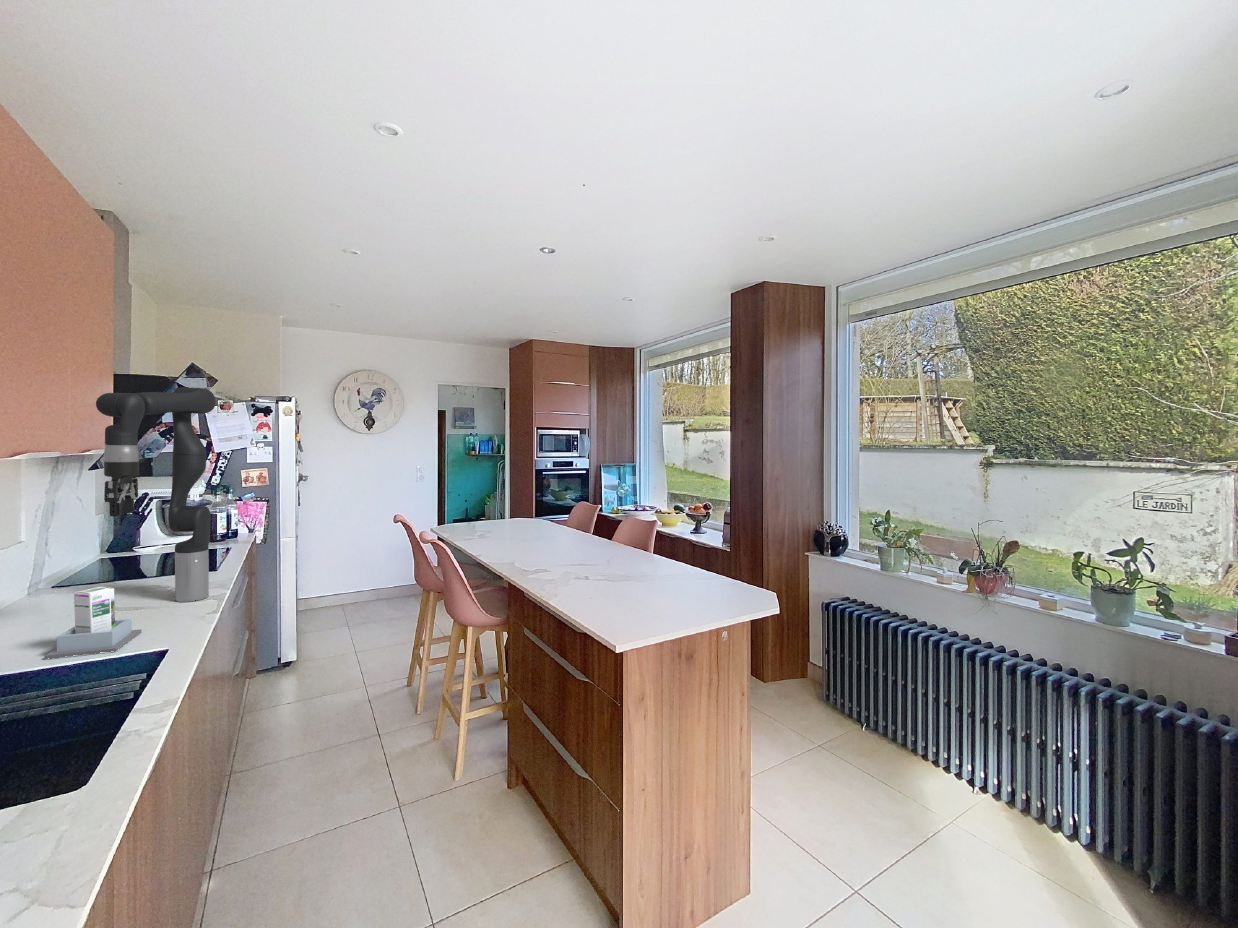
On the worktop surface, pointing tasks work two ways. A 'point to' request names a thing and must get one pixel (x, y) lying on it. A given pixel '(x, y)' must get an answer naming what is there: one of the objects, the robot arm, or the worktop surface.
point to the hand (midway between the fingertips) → (122, 514)
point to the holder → (94, 640)
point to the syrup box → (94, 610)
